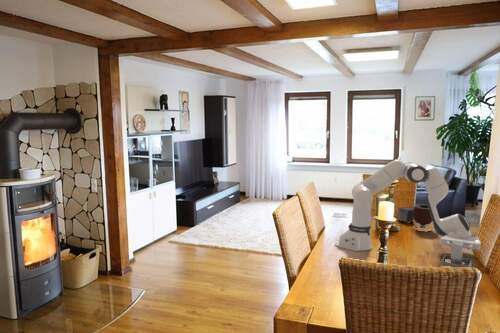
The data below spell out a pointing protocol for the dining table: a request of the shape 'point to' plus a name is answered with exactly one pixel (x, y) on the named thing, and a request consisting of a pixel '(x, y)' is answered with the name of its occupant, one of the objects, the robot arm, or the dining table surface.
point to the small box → (405, 214)
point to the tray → (467, 262)
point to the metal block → (457, 253)
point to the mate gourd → (422, 215)
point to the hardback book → (381, 198)
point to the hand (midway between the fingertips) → (458, 246)
